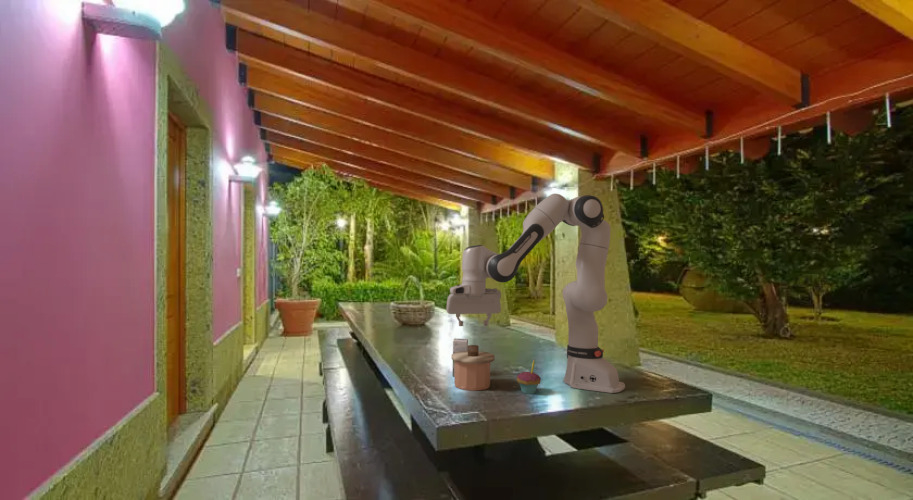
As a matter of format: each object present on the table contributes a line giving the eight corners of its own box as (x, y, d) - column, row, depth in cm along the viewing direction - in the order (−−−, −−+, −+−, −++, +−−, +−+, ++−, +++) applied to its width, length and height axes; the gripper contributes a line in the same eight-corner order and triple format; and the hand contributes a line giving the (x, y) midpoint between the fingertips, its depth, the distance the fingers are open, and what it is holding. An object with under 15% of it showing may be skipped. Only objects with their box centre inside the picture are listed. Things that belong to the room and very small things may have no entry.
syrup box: (467, 373, 188) (468, 338, 188) (466, 377, 182) (467, 340, 183) (453, 373, 189) (454, 337, 189) (452, 377, 183) (452, 340, 183)
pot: (496, 384, 173) (496, 358, 173) (477, 392, 162) (477, 364, 162) (467, 378, 180) (468, 353, 181) (447, 386, 170) (448, 359, 170)
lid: (502, 358, 173) (502, 345, 173) (479, 365, 160) (479, 352, 160) (467, 352, 183) (467, 340, 183) (442, 359, 170) (443, 346, 170)
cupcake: (542, 390, 167) (542, 356, 167) (538, 396, 159) (539, 361, 159) (518, 387, 170) (519, 354, 170) (513, 393, 162) (514, 359, 162)
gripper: (498, 287, 177) (498, 323, 176) (445, 288, 173) (445, 324, 173) (503, 289, 170) (502, 326, 170) (448, 289, 167) (448, 327, 167)
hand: (473, 325), depth 172 cm, fingers open, 8 cm apart
